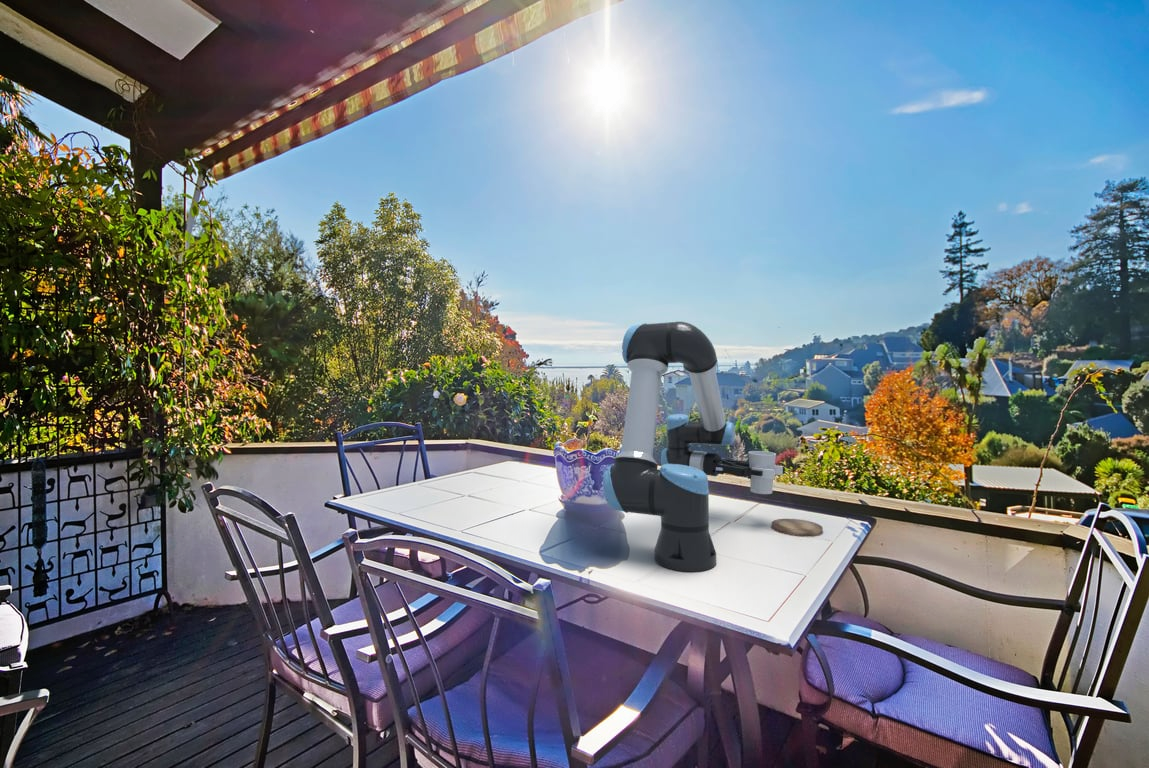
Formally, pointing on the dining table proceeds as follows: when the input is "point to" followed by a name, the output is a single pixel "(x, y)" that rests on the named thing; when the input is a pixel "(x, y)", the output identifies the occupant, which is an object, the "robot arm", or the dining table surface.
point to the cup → (766, 462)
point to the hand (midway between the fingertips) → (778, 472)
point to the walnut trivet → (797, 527)
